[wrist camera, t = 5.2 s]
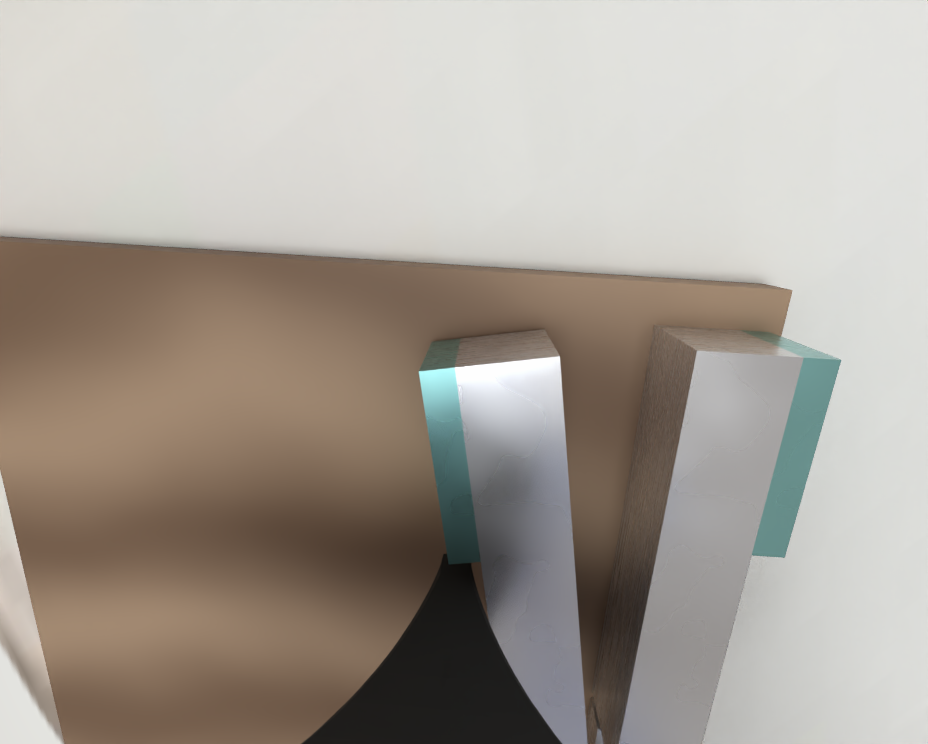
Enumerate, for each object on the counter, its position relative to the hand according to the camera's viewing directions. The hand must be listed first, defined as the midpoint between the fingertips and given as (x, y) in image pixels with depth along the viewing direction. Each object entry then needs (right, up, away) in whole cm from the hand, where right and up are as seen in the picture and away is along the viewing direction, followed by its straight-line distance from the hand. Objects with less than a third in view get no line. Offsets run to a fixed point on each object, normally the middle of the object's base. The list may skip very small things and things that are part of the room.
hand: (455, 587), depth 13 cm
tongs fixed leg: (+5, -1, +1) cm, 5 cm away
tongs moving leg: (+2, 0, +1) cm, 2 cm away
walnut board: (-3, 0, +3) cm, 4 cm away
